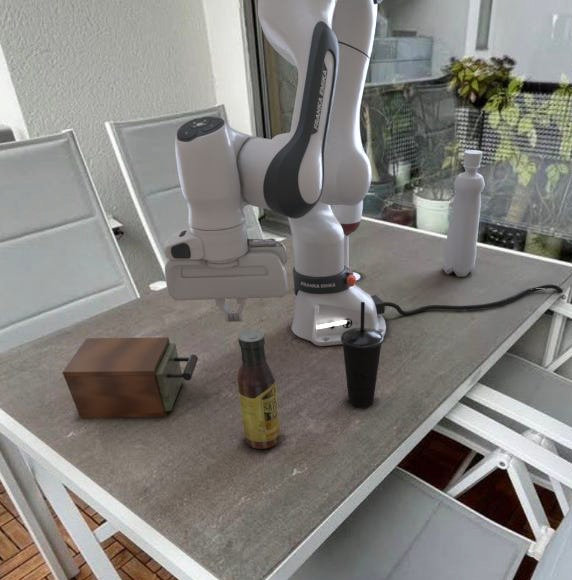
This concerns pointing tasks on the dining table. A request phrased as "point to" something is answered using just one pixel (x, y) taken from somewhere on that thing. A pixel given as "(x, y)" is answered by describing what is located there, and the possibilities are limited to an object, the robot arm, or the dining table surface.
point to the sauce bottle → (257, 393)
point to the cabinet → (117, 377)
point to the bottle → (464, 218)
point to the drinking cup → (361, 362)
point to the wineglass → (349, 224)
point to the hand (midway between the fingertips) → (234, 320)
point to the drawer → (173, 374)
